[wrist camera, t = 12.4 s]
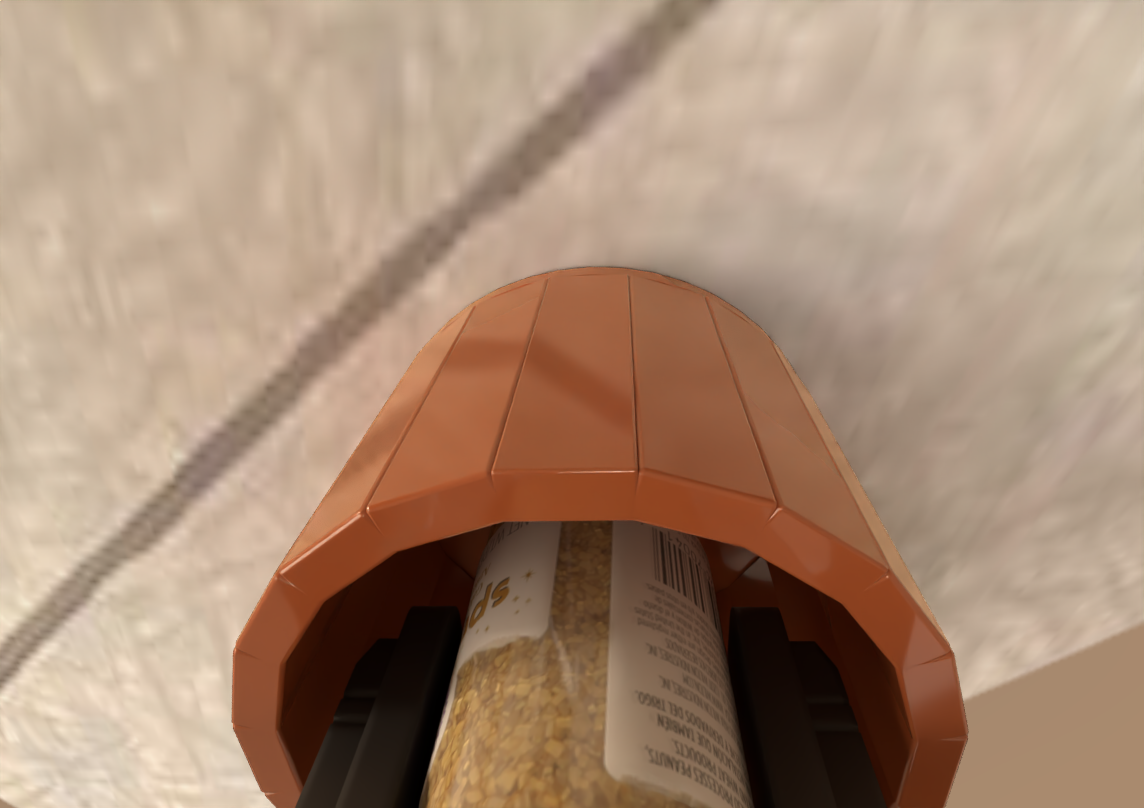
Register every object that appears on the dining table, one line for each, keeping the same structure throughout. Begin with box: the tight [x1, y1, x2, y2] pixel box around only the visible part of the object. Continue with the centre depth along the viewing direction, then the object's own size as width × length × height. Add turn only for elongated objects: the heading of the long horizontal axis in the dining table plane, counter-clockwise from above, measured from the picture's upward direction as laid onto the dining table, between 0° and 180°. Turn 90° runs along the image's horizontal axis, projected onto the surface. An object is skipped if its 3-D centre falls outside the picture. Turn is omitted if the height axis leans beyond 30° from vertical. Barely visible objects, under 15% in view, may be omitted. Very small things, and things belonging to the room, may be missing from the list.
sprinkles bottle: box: [419, 521, 754, 808], centre depth 10 cm, size 5×5×13 cm
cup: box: [232, 267, 968, 808], centre depth 13 cm, size 10×10×8 cm
